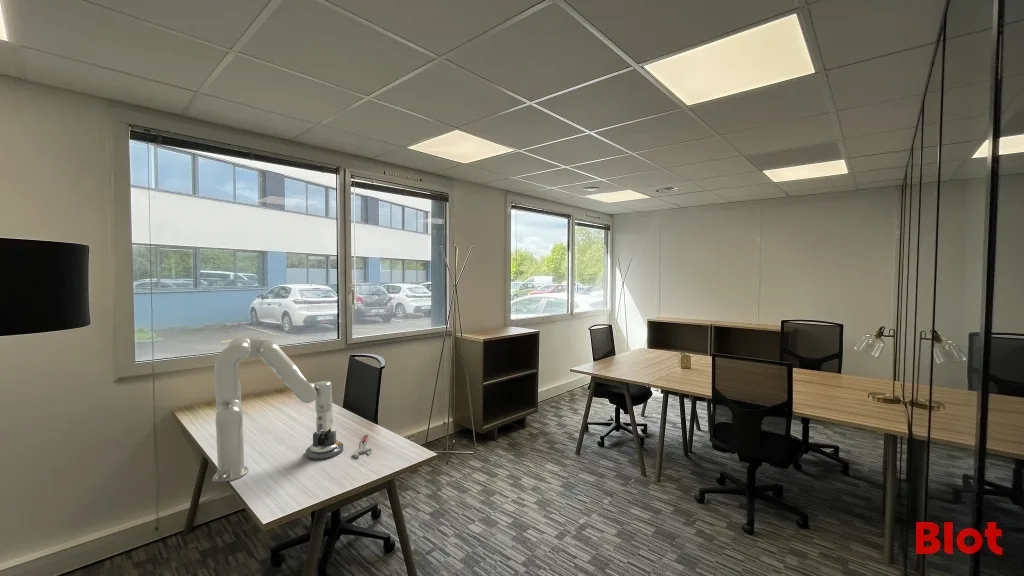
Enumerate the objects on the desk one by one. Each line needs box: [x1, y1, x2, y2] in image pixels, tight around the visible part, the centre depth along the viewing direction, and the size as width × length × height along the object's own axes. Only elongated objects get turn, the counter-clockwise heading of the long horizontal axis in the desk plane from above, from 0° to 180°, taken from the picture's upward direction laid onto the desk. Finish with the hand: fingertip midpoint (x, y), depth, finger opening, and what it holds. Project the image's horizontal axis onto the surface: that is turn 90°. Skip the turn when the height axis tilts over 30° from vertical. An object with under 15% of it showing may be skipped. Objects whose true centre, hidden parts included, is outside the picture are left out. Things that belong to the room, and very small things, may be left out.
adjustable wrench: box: [352, 433, 372, 459], centre depth 204 cm, size 8×26×2 cm, turn 8°
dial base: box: [305, 441, 344, 461], centre depth 197 cm, size 17×17×2 cm
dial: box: [309, 430, 343, 453], centre depth 197 cm, size 14×13×8 cm
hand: (324, 441), depth 197 cm, fingers open, 7 cm apart
